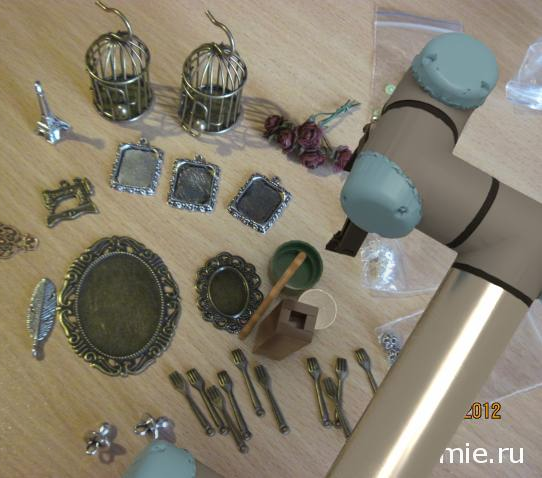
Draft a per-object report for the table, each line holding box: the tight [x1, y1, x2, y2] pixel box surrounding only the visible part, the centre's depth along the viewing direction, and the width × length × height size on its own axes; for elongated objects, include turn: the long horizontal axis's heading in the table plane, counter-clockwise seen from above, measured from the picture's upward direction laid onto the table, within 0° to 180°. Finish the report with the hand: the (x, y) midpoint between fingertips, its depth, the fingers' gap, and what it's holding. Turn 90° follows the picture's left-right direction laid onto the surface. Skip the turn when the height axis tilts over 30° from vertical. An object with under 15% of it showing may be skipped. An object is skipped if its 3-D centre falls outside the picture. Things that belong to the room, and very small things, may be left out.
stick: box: [237, 252, 306, 340], centre depth 111 cm, size 2×2×22 cm
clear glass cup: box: [296, 288, 338, 333], centre depth 111 cm, size 8×8×10 cm
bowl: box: [267, 239, 324, 297], centre depth 116 cm, size 11×11×6 cm
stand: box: [251, 296, 319, 362], centre depth 101 cm, size 6×6×26 cm
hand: (342, 209), depth 84 cm, fingers open, 13 cm apart
